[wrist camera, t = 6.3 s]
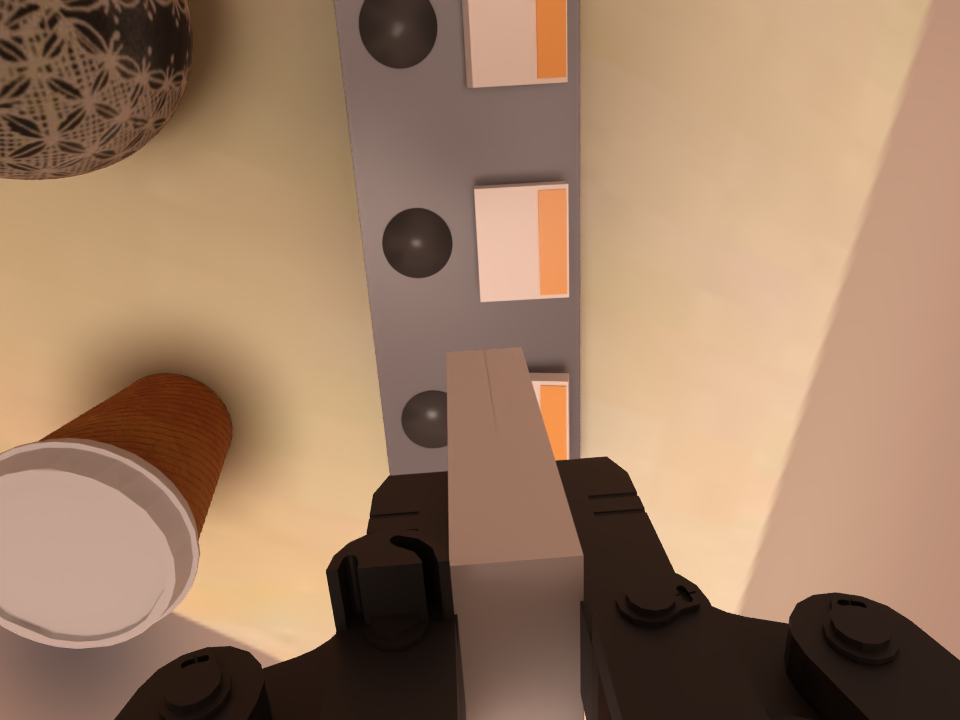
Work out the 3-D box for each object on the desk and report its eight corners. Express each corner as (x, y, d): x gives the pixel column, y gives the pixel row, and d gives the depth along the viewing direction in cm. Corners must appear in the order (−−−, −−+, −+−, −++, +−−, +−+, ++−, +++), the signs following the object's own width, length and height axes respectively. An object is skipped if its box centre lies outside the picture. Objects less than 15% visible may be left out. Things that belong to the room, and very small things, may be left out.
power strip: (333, -93, 30) (319, -116, 26) (565, -105, 30) (580, -129, 26) (397, 472, 40) (393, 508, 37) (569, 460, 40) (580, 494, 37)
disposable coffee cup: (271, 363, 37) (197, 482, 26) (252, 511, 40) (178, 672, 29) (87, 328, 36) (-74, 437, 25) (82, 483, 39) (-61, 640, 28)
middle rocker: (474, 186, 30) (474, 189, 29) (565, 180, 30) (568, 184, 29) (480, 295, 32) (480, 303, 31) (566, 291, 32) (569, 298, 31)
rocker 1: (459, -53, 26) (465, -59, 25) (557, -54, 27) (567, -60, 26) (467, 88, 28) (473, 87, 27) (558, 82, 29) (568, 82, 28)
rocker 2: (486, 372, 34) (483, 381, 33) (569, 373, 33) (568, 382, 32) (491, 461, 36) (488, 472, 35) (569, 463, 35) (568, 475, 34)
